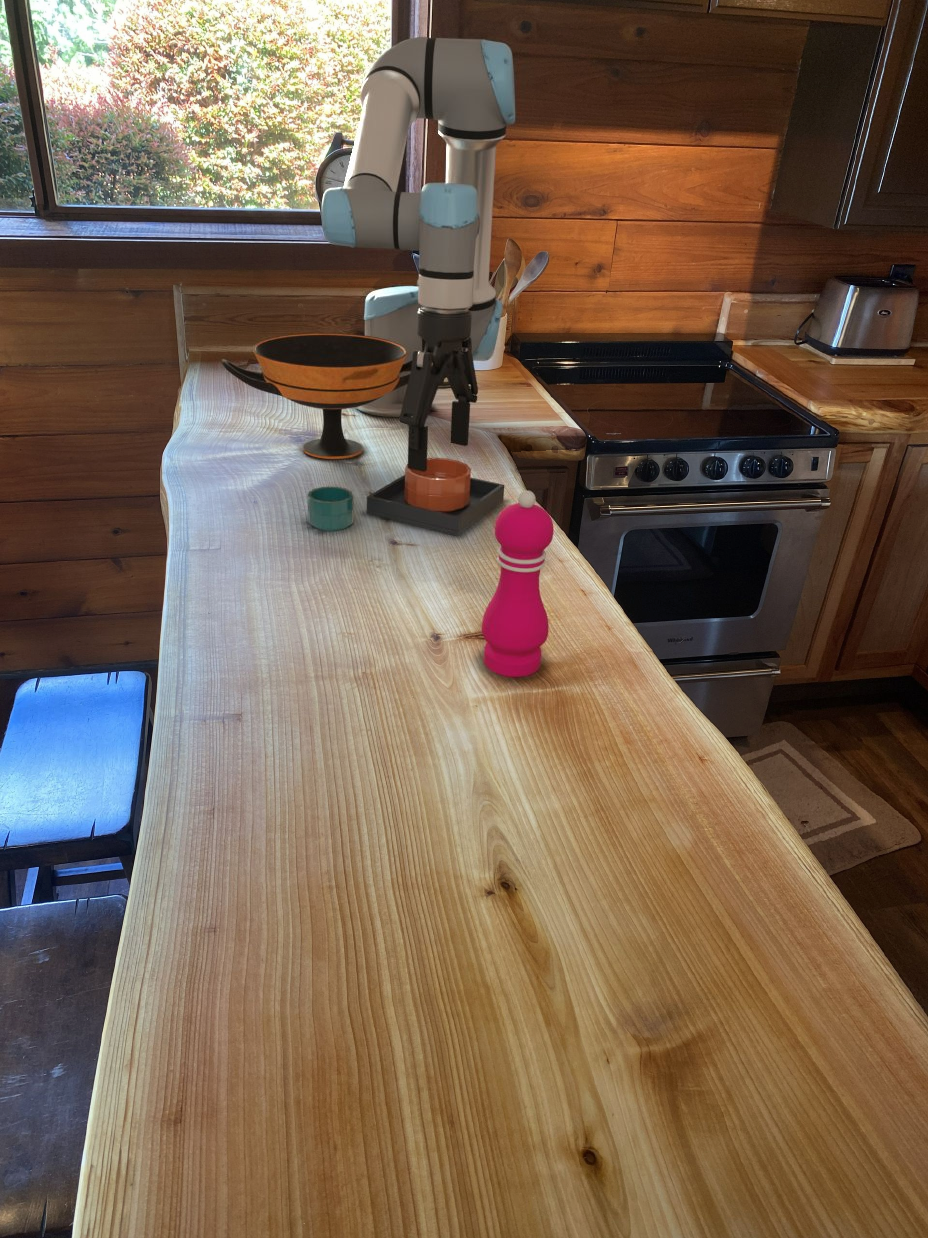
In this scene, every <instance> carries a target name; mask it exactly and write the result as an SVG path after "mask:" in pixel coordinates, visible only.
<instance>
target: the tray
mask: <svg viewBox="0 0 928 1238" xmlns="http://www.w3.org/2000/svg"><path fill="white" fill-rule="evenodd" d="M504 496H505V484H502V483H499V482H494V481H490V480H484V479H480V478H475V477H471V484H470V500H469V504H467V505H466V506H465V507H463V508H460V509H458V510H456V511H452V512H445V513H442V512H437V511H433V510H429V509H424V508H420V507H416V506H412V505H410V504H408V503H407V501H406V500H405V474H403V475H402V476H400V477H398V478H396V479H394V480H393V481H390V482H389V483H388V484H386V485H384V486H382V487H381V488H379V489H377V490H375V491H373V492H372V493H370V494H369V495H367V496H366V515H369V516H373V517H376V518H377V517H378V518H382V519H386V520H390V521H394V522H398V523H402V524H407V525H411V526H415V527H419V528H423V529H426V530H427V529H428V530H430V531H435V532H438V533H442V534H448V535H451V536H454V537H455V536H456V537H459V536H460V535H461V534H463V533H464V532H466V531H467V530H468V529H469V528H471V527H472V526H473V525H475V524H476V523H477V522H478V521H480V520H481V519H483V518H484V517H485V516H486V515H487V514H489V513H490V512H491V511H492V510H494V509H495V508H497V507H498V506H499V505H500V504H502V503H503V502H504V498H505V497H504Z"/></svg>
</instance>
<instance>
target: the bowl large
mask: <svg viewBox="0 0 928 1238" xmlns="http://www.w3.org/2000/svg"><path fill="white" fill-rule="evenodd" d="M404 475H405V500H406V501H407V503H408V504H410V505H412V506H416V507H420V508H424V509H429V510H433V511H437V512H442V513H445V512H452V511H456V510H458V509H460V508H463V507H465V506H466V505H467V504H469V500H470V484H471V478H472V468H471V467H470V466H469V465H468V464H467V463H464V462H463V461H460V460H457V459H451V458H447V457H446V458H444V457H427V470H426V471H425V472H423V471H418V470H414V469H409V468H408V463H406V465H405V467H404Z"/></svg>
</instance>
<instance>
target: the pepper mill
mask: <svg viewBox="0 0 928 1238" xmlns="http://www.w3.org/2000/svg"><path fill="white" fill-rule="evenodd" d="M536 501H537V498H536V495H535V494H534V492H532V491H531V490H523V491H521V492H520V493H519V494H518V497H517V503H513V504H509V505H508V506H506V507H504V508H503V509H502V510H501V511H500V512H499V514H498V516H497V518H496V520H495V523H494V537H495V540H496V541H497V543H498V545H500V546H498V548H497V557H496V562H497V564H498V565H499V566H500V574H499V580H498V584H497V587H496V590H495V592H494V594H493V596H492V598H491V599H490V601H489V602H488V604H487V606H486V608H485V610H484V613H483V616H482V621H481V629H480V630H481V635H482V636H483V638H484V640H485V641H486V643H485V645H484V650H483V653H484V654H483V664H484V665H485V667H486V668H487V669H488V670H490V671H491V672H493V673H495V674H497V675H499V676H503V677H508V678H522V677H523V678H524V677H528V676H530V675H533V674H535V673H536V672H537V671H538V670H539V669H540V667H541V663H542V648H541V647H542V646H543V645H544V644H545V643H546V642H547V640H548V637H549V625H550V623H549V617H548V614H547V613H548V612H547V610H546V608H545V606H544V602H543V600H542V599H543V598H542V596H541V591H540V576H541V575H540V574H541V571H542V569H543V568H544V567H545V566H546V558H547V551H546V549H547V548H548V547H549V546H550V545H551V543H552V541H553V537H554V534H555V533H554V532H555V531H554V522H553V519H552V517H551V515H550V514H549V512H548V511H547V510H546V509H544V507H541V506H539V505H538V504H536Z"/></svg>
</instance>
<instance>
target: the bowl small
mask: <svg viewBox="0 0 928 1238" xmlns="http://www.w3.org/2000/svg"><path fill="white" fill-rule="evenodd" d="M306 497H307V498H306V500H307V520H308V523H309V524H310V525H311V526H312V527H314V528H316V529H317V530H320V531H326V532H333V531H334V532H335V531H342V530H345V529H347V528H348V527H350V526H351V525H352V524H353V522H354V520H355V519H354V517H355V516H354V509H355V508H354V507H355V506H354V505H355V504H354V493H353V491H352V490H350V489H348V488H344V487H341V486H321V487H317V488H313V489H311V490H309V491H308V493H307V496H306Z"/></svg>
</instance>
